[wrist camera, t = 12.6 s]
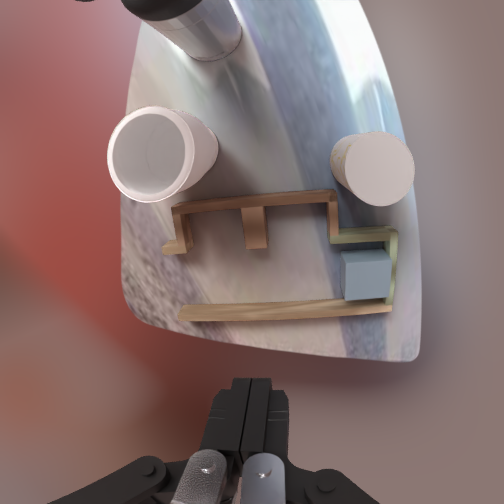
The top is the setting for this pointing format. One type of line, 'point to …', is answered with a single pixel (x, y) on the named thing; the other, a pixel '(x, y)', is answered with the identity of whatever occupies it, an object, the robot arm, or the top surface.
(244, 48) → the top surface
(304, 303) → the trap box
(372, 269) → the block
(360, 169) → the white cylinder
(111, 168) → the jar
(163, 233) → the top surface
